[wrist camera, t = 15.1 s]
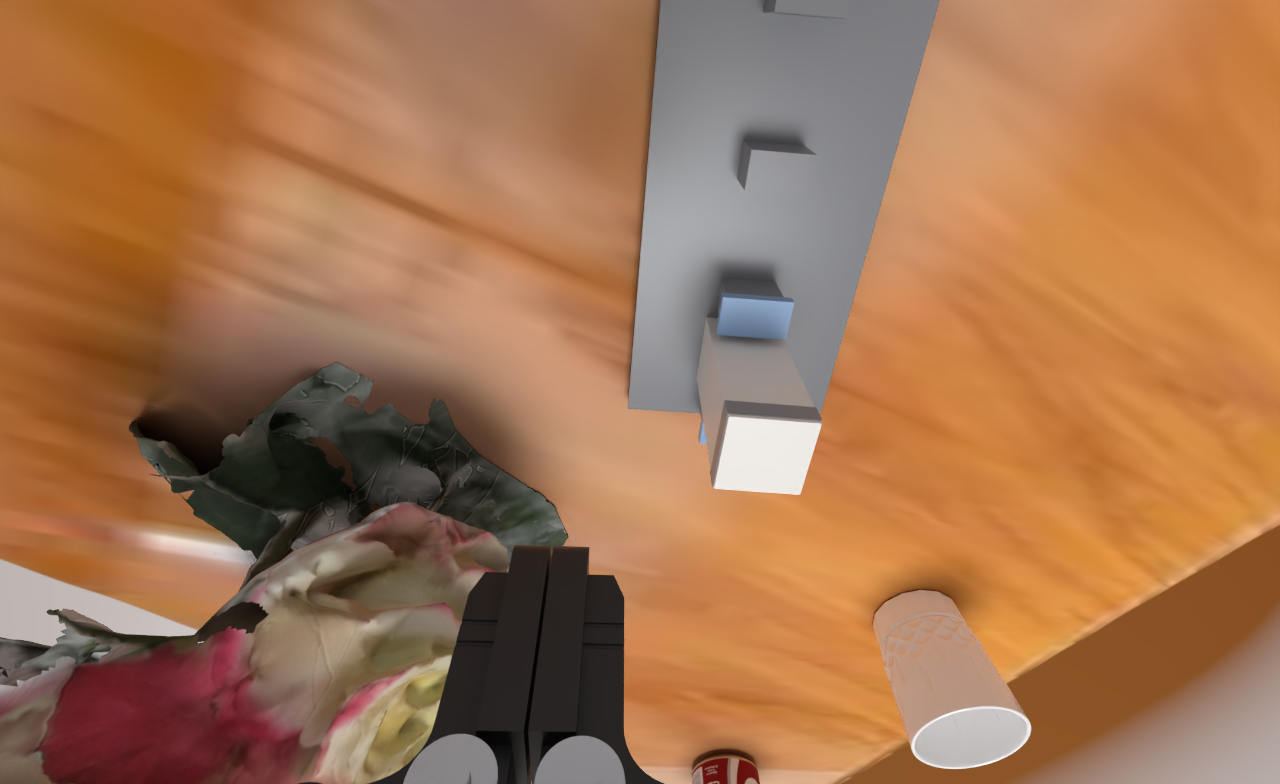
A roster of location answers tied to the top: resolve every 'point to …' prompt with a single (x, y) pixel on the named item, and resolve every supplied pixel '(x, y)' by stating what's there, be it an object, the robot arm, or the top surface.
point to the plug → (755, 414)
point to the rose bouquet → (286, 610)
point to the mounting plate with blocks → (765, 178)
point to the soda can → (725, 770)
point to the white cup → (946, 684)
